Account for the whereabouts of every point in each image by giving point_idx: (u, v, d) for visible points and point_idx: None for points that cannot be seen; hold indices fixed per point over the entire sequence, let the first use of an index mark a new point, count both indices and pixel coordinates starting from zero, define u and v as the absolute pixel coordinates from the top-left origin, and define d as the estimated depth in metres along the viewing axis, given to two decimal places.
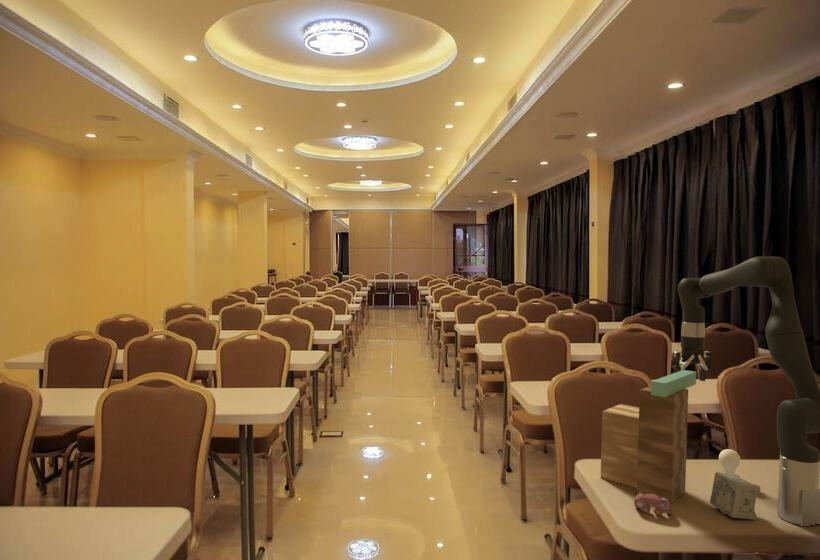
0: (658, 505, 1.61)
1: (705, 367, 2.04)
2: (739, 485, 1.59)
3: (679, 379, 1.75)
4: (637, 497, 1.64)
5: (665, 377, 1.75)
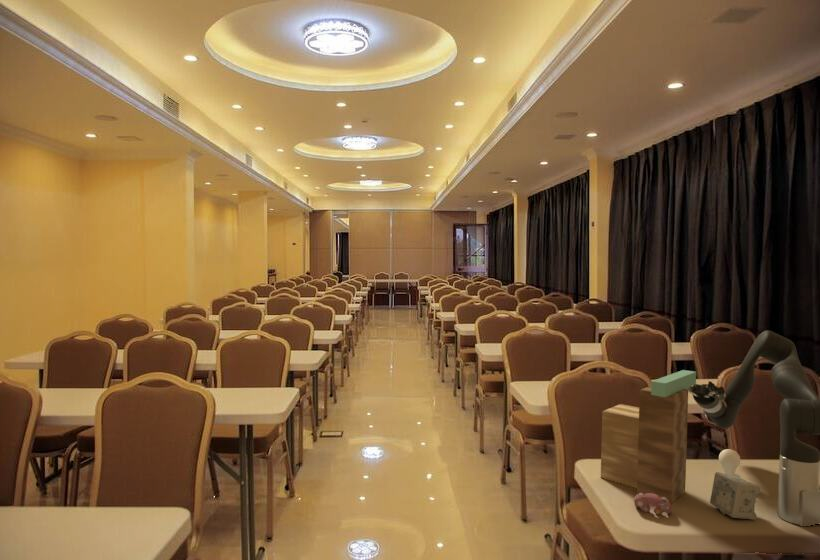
0: (658, 504, 1.61)
1: None
2: (739, 485, 1.59)
3: (679, 379, 1.75)
4: (637, 496, 1.64)
5: (665, 377, 1.75)
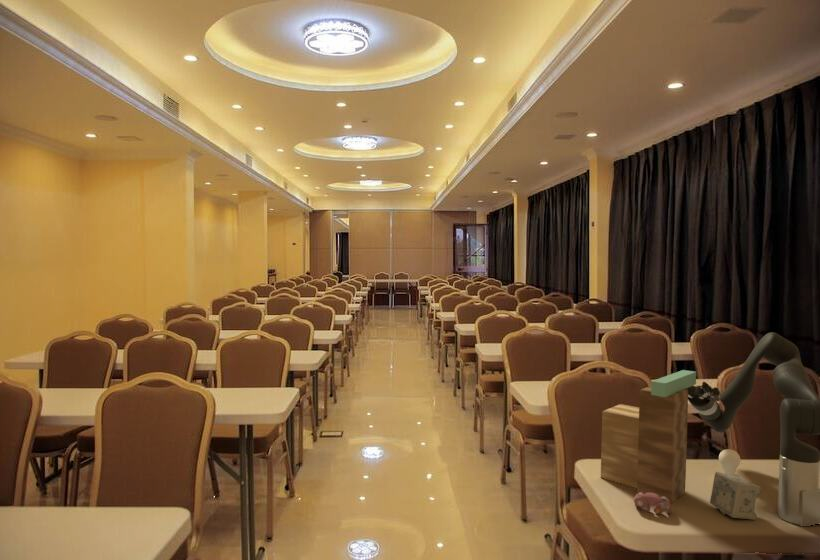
0: (658, 504, 1.62)
1: None
2: (739, 485, 1.59)
3: (679, 379, 1.75)
4: (637, 496, 1.65)
5: (665, 377, 1.75)
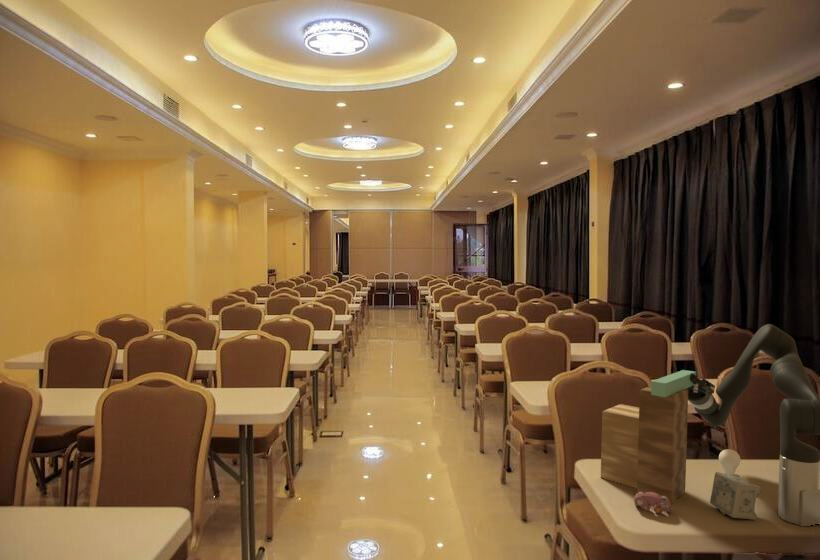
0: (658, 503, 1.62)
1: None
2: (739, 485, 1.59)
3: (679, 379, 1.75)
4: (637, 495, 1.65)
5: (665, 377, 1.75)
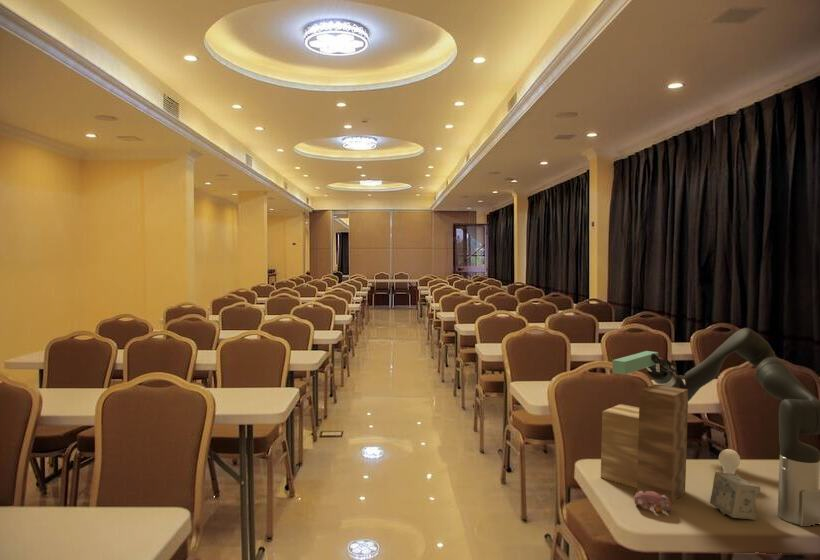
0: (658, 502, 1.63)
1: None
2: (739, 485, 1.59)
3: (639, 358, 1.89)
4: (637, 494, 1.66)
5: (627, 357, 1.89)
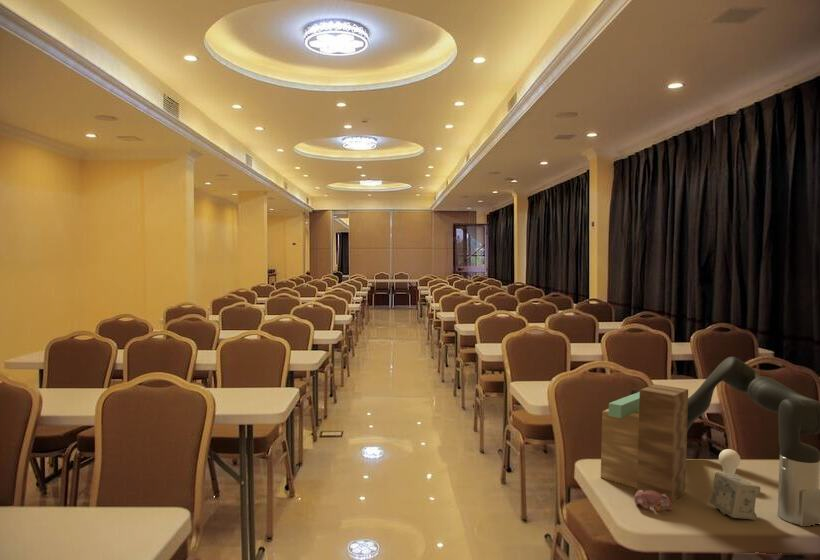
0: (658, 501, 1.64)
1: None
2: (739, 485, 1.59)
3: (635, 400, 1.89)
4: (637, 494, 1.66)
5: (623, 399, 1.90)
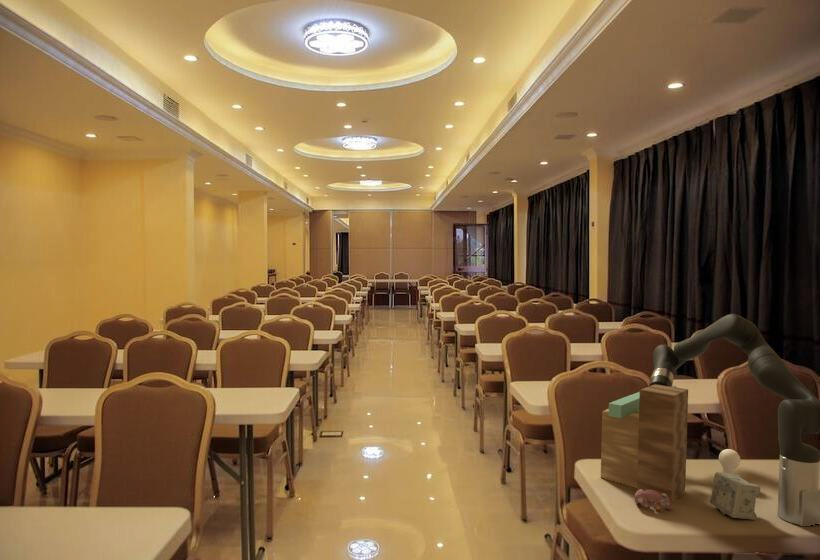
0: (658, 501, 1.64)
1: None
2: (739, 485, 1.59)
3: (635, 400, 1.89)
4: (637, 493, 1.67)
5: (623, 399, 1.90)
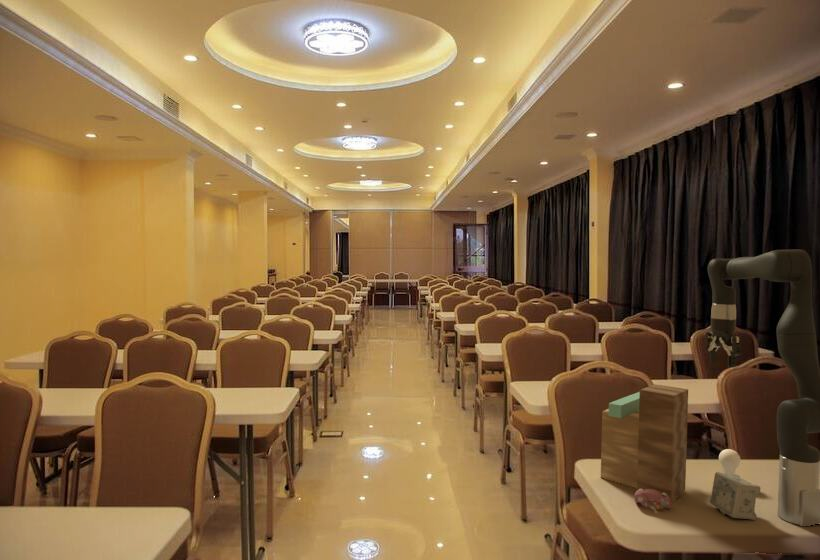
0: (658, 500, 1.65)
1: (728, 352, 1.94)
2: (739, 485, 1.59)
3: (635, 400, 1.89)
4: (637, 492, 1.67)
5: (623, 399, 1.90)
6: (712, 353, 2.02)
